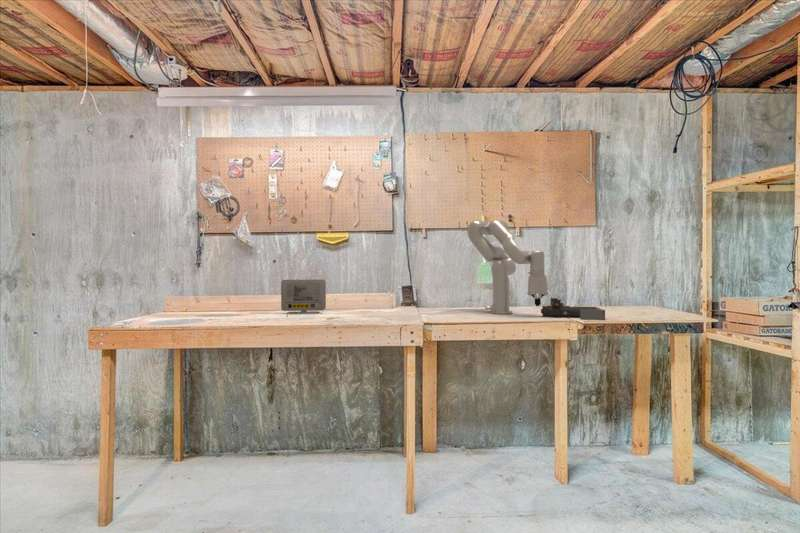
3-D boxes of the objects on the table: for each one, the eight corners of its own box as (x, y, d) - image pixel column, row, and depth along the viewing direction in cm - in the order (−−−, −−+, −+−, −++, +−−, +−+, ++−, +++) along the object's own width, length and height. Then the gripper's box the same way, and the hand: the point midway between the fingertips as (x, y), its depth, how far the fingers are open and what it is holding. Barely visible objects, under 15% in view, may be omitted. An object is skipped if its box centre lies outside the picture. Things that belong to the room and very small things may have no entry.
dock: (580, 319, 219) (580, 309, 219) (573, 315, 235) (573, 306, 235) (605, 319, 216) (605, 310, 216) (596, 315, 233) (596, 306, 233)
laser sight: (586, 319, 222) (586, 300, 221) (542, 317, 226) (542, 299, 226) (581, 316, 231) (582, 298, 231) (539, 315, 235) (539, 298, 235)
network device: (326, 312, 252) (326, 279, 251) (324, 314, 243) (324, 279, 243) (283, 312, 250) (283, 279, 250) (280, 314, 241) (280, 280, 241)
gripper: (523, 273, 229) (524, 306, 229) (552, 273, 226) (552, 306, 226) (522, 272, 236) (523, 305, 236) (550, 272, 233) (550, 305, 233)
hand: (537, 305), depth 231 cm, fingers closed
